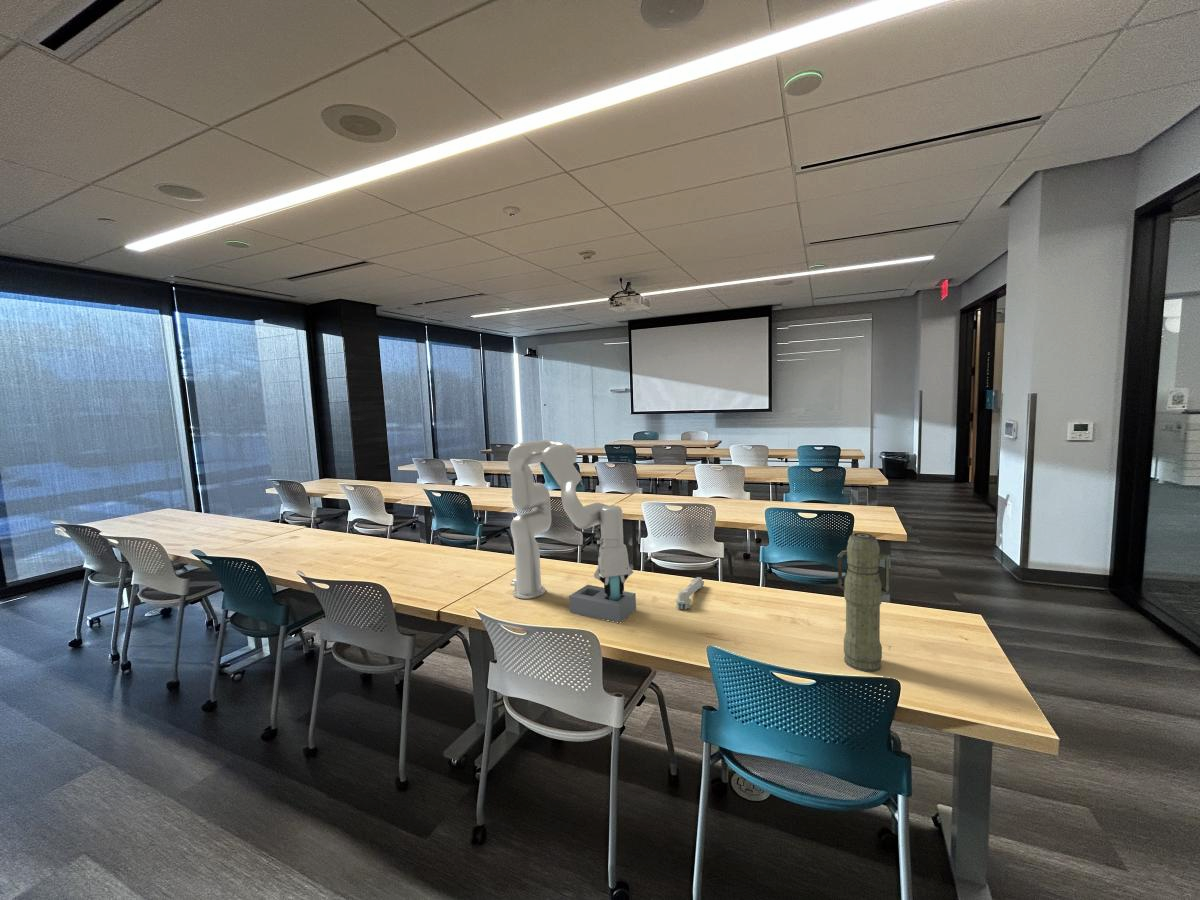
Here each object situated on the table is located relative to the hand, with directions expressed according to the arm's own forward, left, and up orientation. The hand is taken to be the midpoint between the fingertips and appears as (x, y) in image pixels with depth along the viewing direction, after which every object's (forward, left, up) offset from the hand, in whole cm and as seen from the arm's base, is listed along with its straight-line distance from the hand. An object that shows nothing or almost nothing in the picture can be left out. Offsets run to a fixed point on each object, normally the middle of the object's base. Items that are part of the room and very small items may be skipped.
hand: (614, 593), depth 166 cm
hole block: (-5, 0, -7) cm, 9 cm away
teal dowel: (0, 0, -4) cm, 4 cm away
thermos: (+75, +2, -7) cm, 75 cm away
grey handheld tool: (+18, +25, -8) cm, 32 cm away
